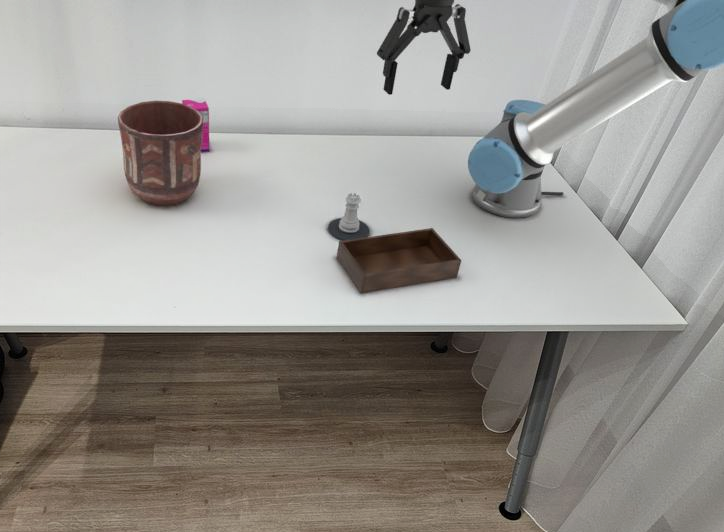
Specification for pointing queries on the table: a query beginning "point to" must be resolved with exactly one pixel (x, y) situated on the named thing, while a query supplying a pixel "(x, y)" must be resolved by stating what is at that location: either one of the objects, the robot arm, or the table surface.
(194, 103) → the supplement box
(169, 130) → the pottery
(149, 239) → the table surface
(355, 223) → the rook chess piece
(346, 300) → the table surface
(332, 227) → the coaster
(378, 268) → the tray
